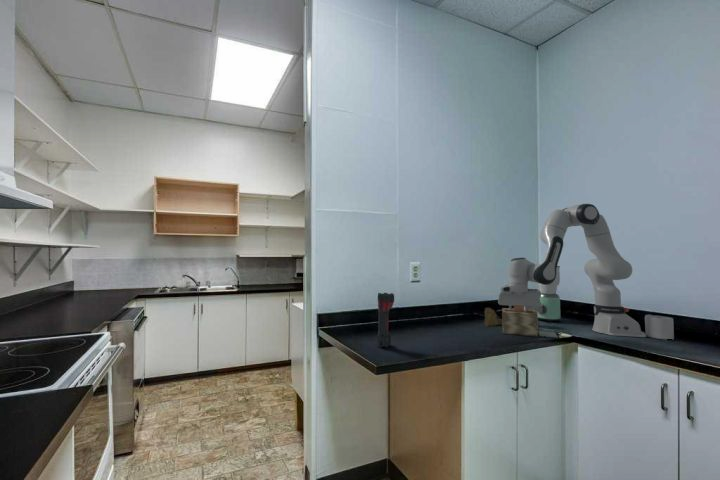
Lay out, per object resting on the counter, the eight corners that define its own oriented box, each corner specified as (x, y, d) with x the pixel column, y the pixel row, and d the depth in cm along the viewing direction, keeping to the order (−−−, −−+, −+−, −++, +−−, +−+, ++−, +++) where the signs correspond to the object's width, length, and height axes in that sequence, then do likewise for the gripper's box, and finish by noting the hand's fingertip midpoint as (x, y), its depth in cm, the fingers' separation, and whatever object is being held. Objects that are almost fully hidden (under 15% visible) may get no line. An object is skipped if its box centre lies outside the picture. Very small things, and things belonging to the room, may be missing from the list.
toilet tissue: (664, 340, 159) (663, 319, 159) (637, 334, 170) (636, 315, 171) (679, 339, 162) (678, 318, 162) (652, 333, 173) (651, 314, 174)
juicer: (550, 323, 195) (549, 264, 197) (529, 319, 207) (528, 264, 209) (569, 321, 204) (568, 264, 206) (548, 317, 216) (547, 264, 218)
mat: (554, 333, 171) (554, 332, 171) (557, 337, 162) (557, 336, 162) (537, 331, 174) (537, 330, 175) (539, 336, 165) (539, 334, 165)
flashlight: (392, 343, 150) (393, 292, 151) (395, 347, 142) (395, 294, 143) (375, 343, 149) (376, 292, 150) (377, 347, 141) (377, 294, 143)
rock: (498, 319, 197) (481, 316, 199) (503, 309, 192) (485, 306, 194) (501, 333, 189) (483, 330, 190) (506, 323, 184) (487, 320, 185)
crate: (534, 330, 177) (534, 310, 177) (537, 336, 164) (537, 314, 164) (502, 328, 183) (502, 308, 183) (502, 333, 170) (502, 312, 171)
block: (523, 320, 175) (523, 305, 175) (524, 321, 171) (523, 306, 171) (514, 319, 177) (513, 304, 177) (514, 321, 172) (514, 305, 173)
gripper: (540, 288, 173) (540, 315, 173) (497, 286, 181) (498, 312, 181) (541, 289, 167) (542, 317, 167) (497, 287, 175) (498, 314, 175)
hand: (518, 314), depth 174 cm, fingers closed on block, 4 cm apart
